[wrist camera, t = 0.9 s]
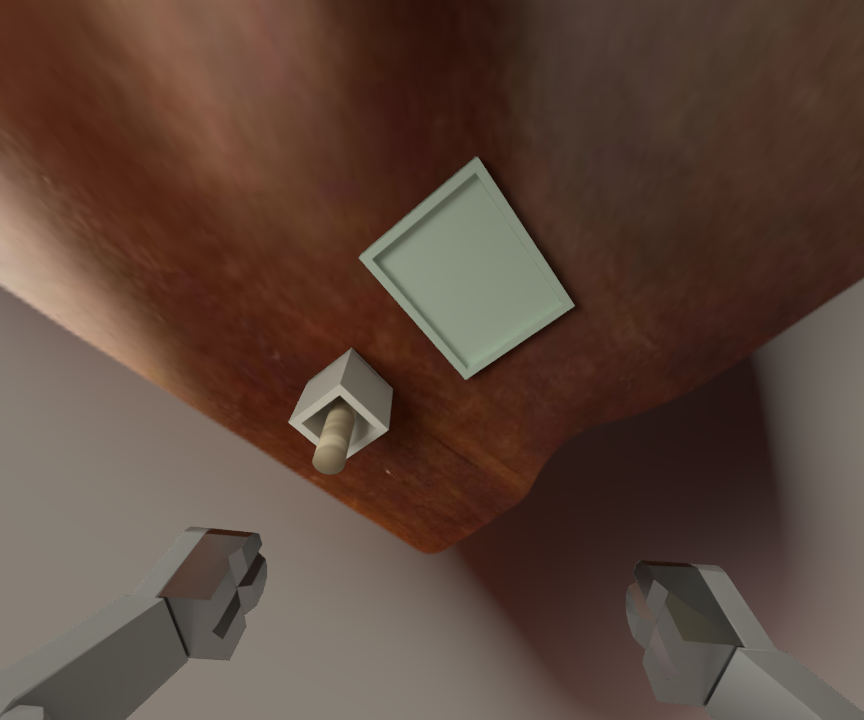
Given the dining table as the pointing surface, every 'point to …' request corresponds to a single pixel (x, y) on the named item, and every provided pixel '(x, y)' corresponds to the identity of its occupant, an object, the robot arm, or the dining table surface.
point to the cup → (354, 386)
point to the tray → (468, 271)
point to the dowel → (335, 437)
